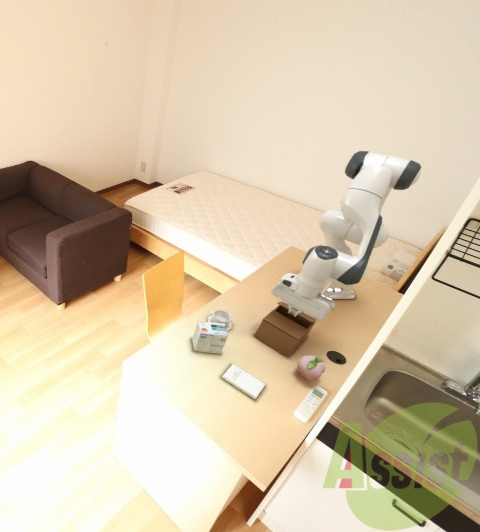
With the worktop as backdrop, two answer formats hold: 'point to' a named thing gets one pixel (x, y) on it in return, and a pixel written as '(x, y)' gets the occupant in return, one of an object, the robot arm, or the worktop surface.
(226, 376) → the hard drive
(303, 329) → the carton
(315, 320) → the flap
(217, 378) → the worktop surface
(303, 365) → the decorative fruit
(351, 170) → the robot arm
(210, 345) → the light bulb box
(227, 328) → the teacup
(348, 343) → the worktop surface
